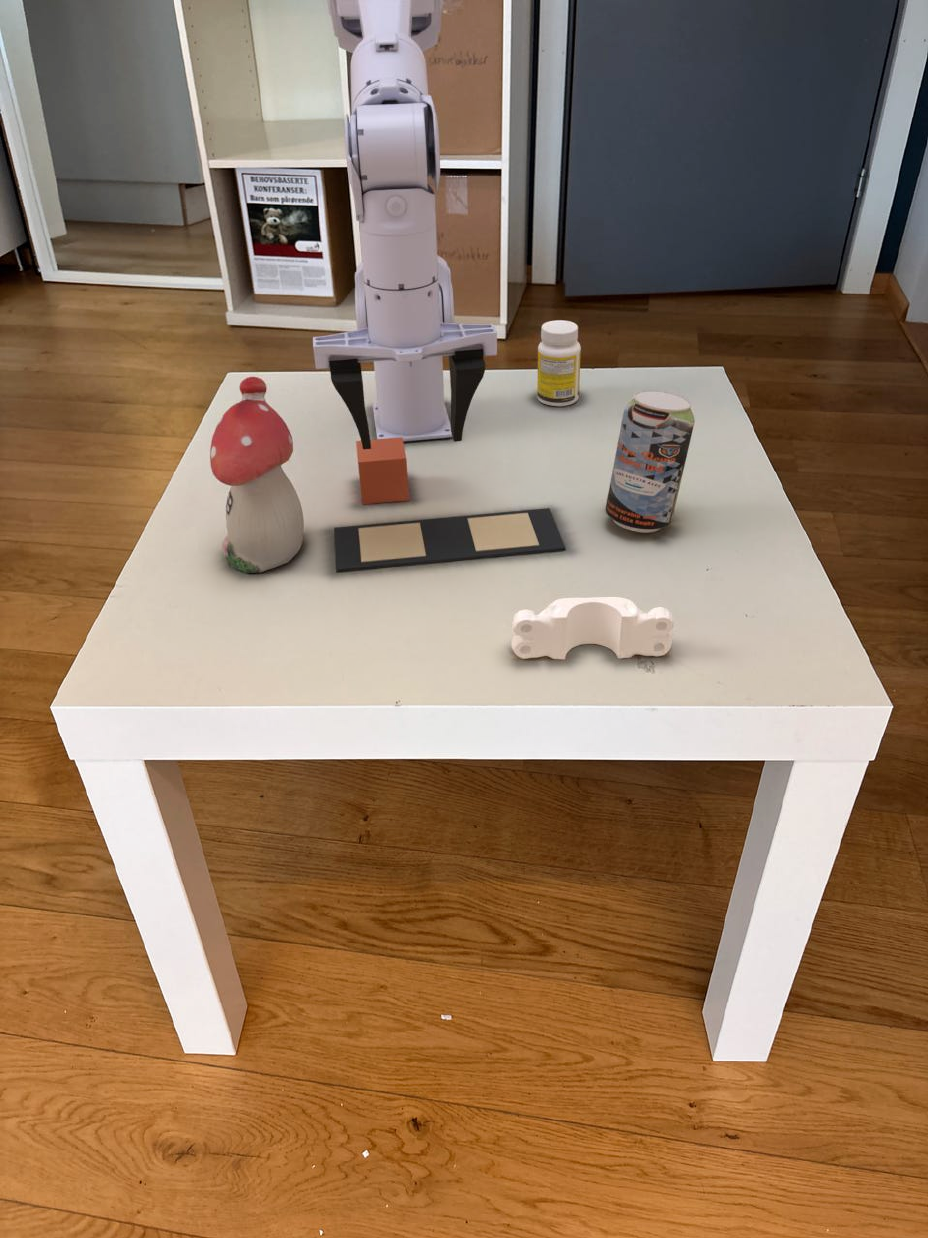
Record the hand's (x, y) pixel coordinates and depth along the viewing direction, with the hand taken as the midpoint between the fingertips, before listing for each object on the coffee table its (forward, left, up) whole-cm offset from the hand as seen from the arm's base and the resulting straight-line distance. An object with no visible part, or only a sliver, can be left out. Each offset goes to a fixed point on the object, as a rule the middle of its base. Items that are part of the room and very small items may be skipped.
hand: (411, 440), depth 83 cm
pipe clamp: (+19, +11, -10) cm, 24 cm away
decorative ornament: (+1, -14, -10) cm, 17 cm away
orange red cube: (-8, -3, -9) cm, 13 cm away
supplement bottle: (-26, +18, -10) cm, 34 cm away
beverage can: (+2, +20, -10) cm, 23 cm away
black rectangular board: (+2, +2, -9) cm, 10 cm away
